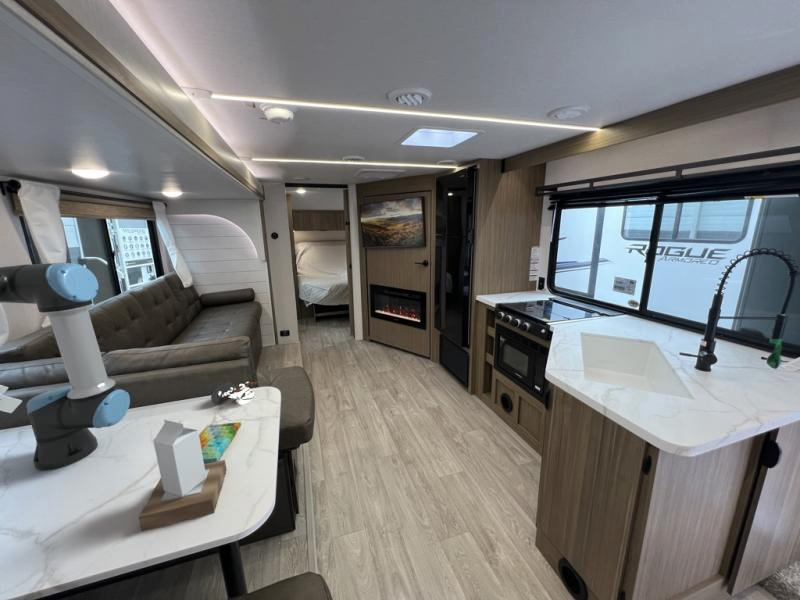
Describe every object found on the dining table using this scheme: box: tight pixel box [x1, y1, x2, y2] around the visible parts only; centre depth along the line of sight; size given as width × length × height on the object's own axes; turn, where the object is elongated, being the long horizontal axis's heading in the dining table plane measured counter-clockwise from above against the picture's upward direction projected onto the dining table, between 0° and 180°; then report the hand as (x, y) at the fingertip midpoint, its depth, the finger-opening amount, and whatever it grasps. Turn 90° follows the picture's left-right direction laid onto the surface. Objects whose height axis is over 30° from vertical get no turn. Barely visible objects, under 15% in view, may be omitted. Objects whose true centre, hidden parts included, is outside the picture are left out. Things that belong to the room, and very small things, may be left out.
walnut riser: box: [137, 459, 228, 532], centre depth 89 cm, size 16×16×4 cm
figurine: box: [210, 380, 259, 405], centre depth 141 cm, size 14×10×18 cm
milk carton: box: [152, 419, 206, 497], centre depth 86 cm, size 7×7×19 cm
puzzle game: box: [199, 421, 242, 464], centre depth 109 cm, size 12×5×20 cm
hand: (9, 399), depth 73 cm, fingers open, 13 cm apart
